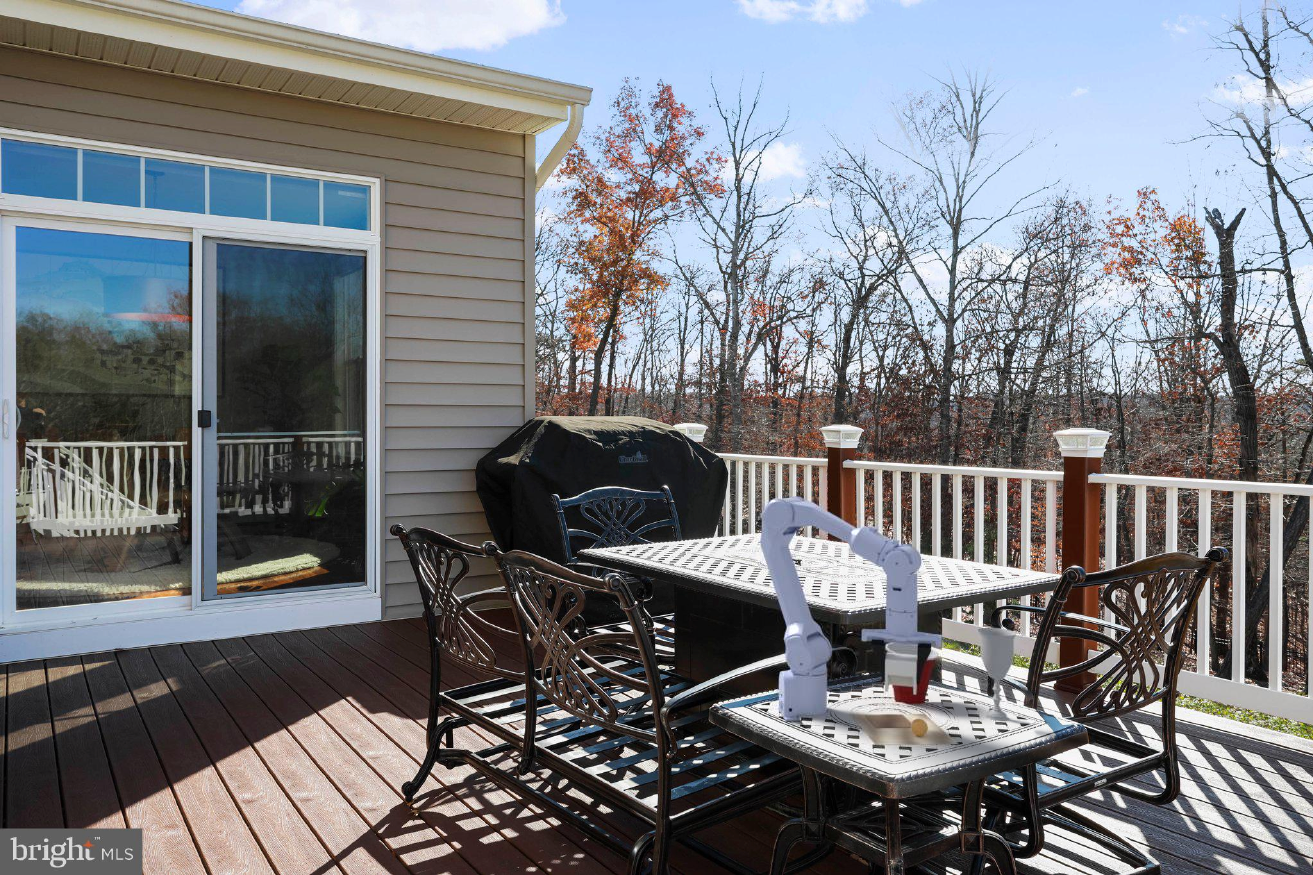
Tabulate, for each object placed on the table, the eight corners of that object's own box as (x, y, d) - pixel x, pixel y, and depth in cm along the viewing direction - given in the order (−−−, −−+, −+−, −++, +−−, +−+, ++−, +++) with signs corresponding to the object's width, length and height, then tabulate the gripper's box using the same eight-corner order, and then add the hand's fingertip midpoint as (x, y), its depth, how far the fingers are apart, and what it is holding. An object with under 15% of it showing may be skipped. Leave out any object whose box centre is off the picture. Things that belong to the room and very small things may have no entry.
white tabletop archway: (884, 691, 159) (885, 659, 159) (886, 683, 165) (886, 652, 165) (916, 694, 158) (916, 662, 158) (916, 686, 163) (916, 655, 163)
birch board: (875, 751, 151) (875, 743, 151) (849, 720, 168) (849, 713, 168) (958, 750, 152) (958, 743, 152) (924, 719, 169) (924, 713, 169)
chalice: (969, 719, 169) (969, 629, 169) (995, 715, 172) (995, 626, 172) (998, 731, 162) (998, 637, 162) (1024, 726, 165) (1024, 634, 165)
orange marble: (914, 738, 155) (914, 721, 155) (908, 732, 158) (908, 716, 158) (930, 738, 155) (930, 721, 155) (924, 732, 158) (924, 716, 158)
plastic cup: (930, 717, 171) (931, 658, 171) (877, 707, 177) (878, 649, 177) (943, 702, 180) (944, 646, 180) (893, 693, 186) (894, 638, 186)
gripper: (860, 610, 160) (859, 683, 160) (942, 616, 155) (941, 691, 155) (863, 604, 166) (862, 673, 166) (941, 609, 162) (941, 680, 162)
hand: (900, 681), depth 161 cm, fingers closed on white tabletop archway, 6 cm apart
